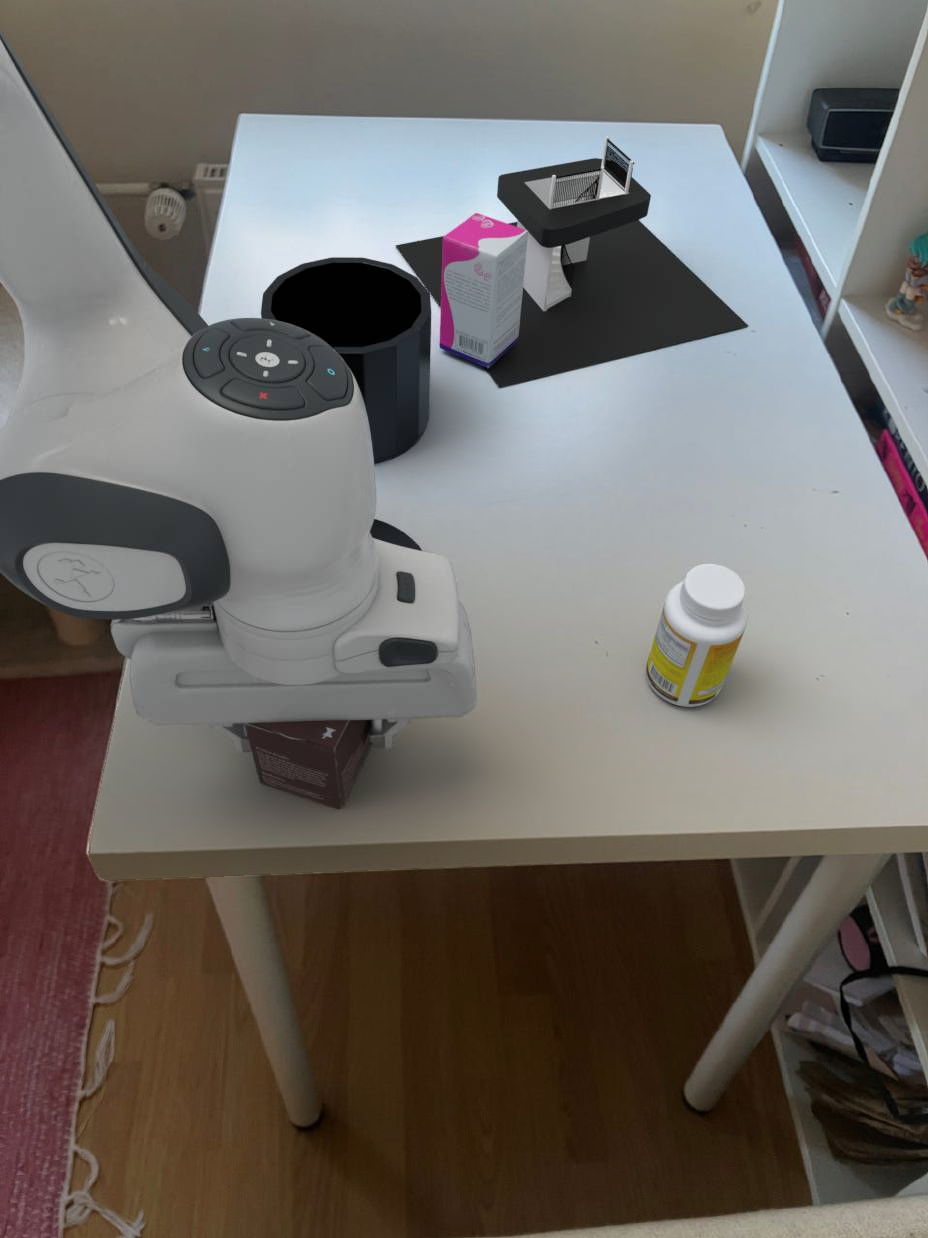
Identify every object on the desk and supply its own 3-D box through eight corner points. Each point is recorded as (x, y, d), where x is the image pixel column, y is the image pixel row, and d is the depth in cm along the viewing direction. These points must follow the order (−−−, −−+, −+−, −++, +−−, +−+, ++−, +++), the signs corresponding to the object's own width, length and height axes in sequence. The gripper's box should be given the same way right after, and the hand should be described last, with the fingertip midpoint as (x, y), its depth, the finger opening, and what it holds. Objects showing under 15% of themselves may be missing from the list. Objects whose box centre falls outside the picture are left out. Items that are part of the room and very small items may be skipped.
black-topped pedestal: (499, 388, 93) (510, 256, 83) (395, 246, 108) (393, 120, 98) (748, 326, 102) (786, 200, 91) (619, 202, 116) (640, 82, 106)
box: (377, 739, 68) (374, 675, 63) (341, 813, 65) (335, 752, 59) (295, 712, 69) (286, 647, 64) (256, 784, 66) (241, 721, 60)
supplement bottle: (725, 660, 74) (763, 566, 66) (715, 719, 71) (753, 627, 63) (651, 640, 75) (679, 545, 67) (637, 698, 71) (665, 605, 64)
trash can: (271, 467, 85) (255, 352, 76) (280, 369, 94) (266, 256, 85) (431, 465, 86) (434, 352, 77) (425, 368, 95) (427, 257, 86)
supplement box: (520, 339, 98) (531, 229, 89) (488, 369, 94) (496, 258, 85) (470, 319, 99) (476, 209, 91) (436, 348, 96) (439, 236, 87)
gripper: (92, 653, 52) (146, 789, 62) (487, 644, 53) (473, 778, 64) (111, 563, 56) (159, 705, 66) (478, 557, 57) (467, 697, 68)
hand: (316, 741), depth 65 cm, fingers closed on box, 7 cm apart
